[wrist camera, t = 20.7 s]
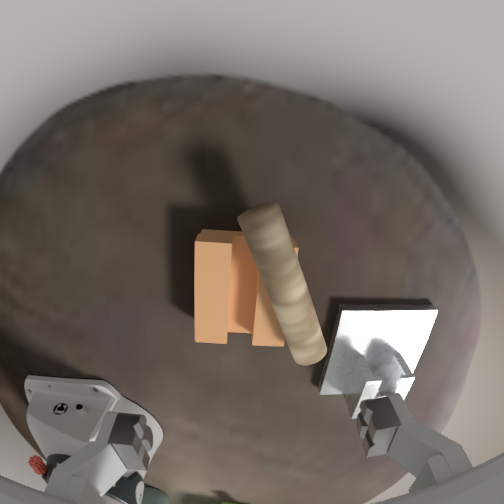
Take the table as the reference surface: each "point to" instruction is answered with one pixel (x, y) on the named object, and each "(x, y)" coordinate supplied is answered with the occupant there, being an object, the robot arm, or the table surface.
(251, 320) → the orange grooved block
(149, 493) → the cup
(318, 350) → the axle
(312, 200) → the table surface
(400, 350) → the block
